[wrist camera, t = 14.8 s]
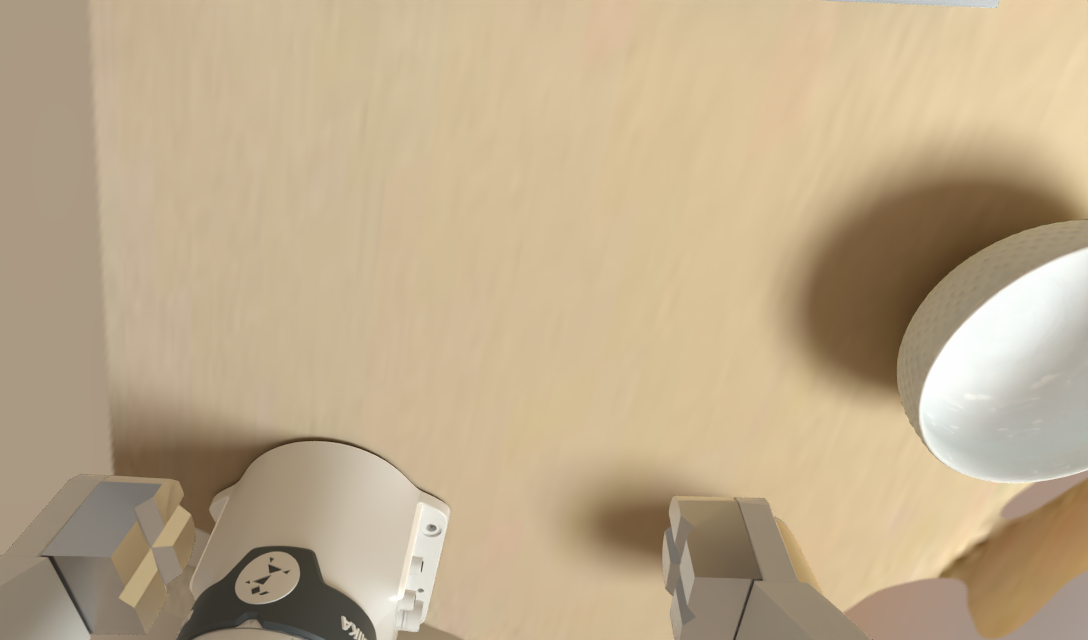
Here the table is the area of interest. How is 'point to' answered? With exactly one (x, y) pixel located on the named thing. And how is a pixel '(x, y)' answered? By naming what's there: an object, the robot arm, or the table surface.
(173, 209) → the table surface
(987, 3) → the tray
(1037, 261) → the cereal bowl
